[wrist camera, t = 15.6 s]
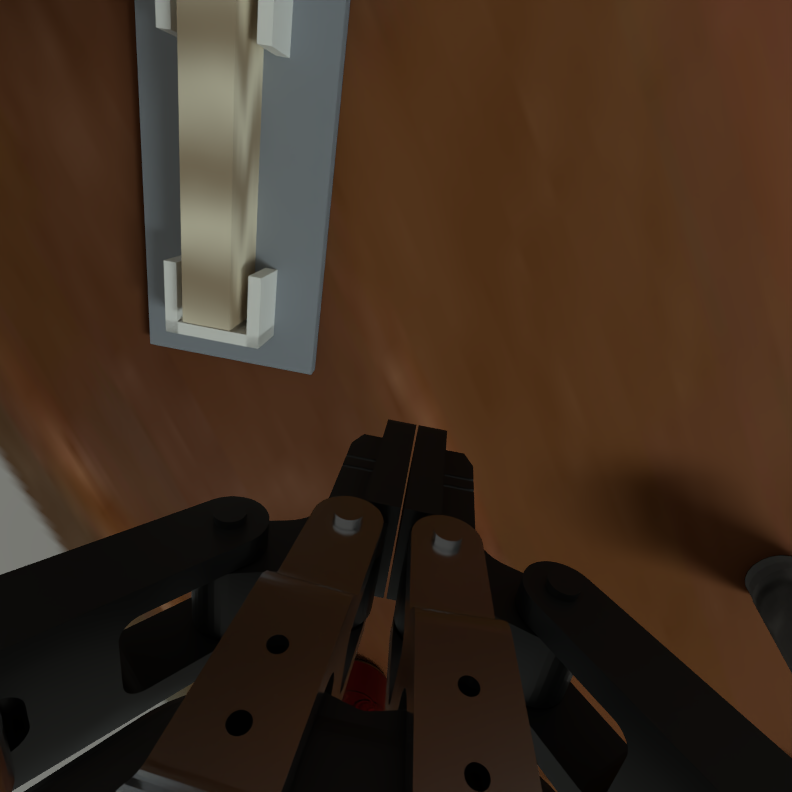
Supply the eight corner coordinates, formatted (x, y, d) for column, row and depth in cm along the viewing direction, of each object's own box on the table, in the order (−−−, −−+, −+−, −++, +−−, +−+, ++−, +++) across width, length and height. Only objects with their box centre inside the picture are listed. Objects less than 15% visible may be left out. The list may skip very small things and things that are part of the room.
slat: (213, -12, 28) (175, -39, 24) (265, -4, 28) (236, -30, 24) (211, 306, 36) (182, 321, 32) (253, 314, 35) (229, 330, 32)
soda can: (351, 714, 53) (322, 857, 42) (304, 671, 51) (260, 808, 40) (406, 690, 50) (390, 834, 39) (358, 643, 48) (328, 781, 37)
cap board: (139, -119, 27) (90, -163, 24) (358, -86, 27) (342, -126, 23) (157, 339, 38) (125, 357, 34) (314, 369, 38) (298, 390, 34)
